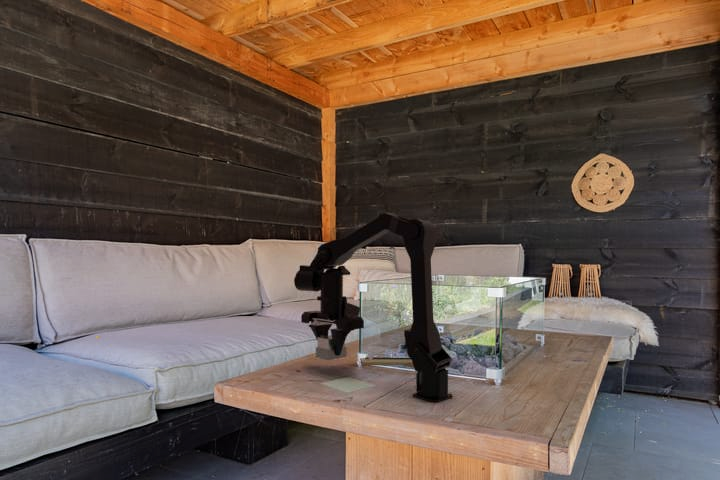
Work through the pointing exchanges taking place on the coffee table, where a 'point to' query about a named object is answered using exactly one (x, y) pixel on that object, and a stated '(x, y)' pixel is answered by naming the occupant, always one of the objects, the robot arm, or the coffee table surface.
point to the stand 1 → (331, 373)
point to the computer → (387, 361)
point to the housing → (328, 348)
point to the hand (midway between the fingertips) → (331, 353)
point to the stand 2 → (348, 384)
